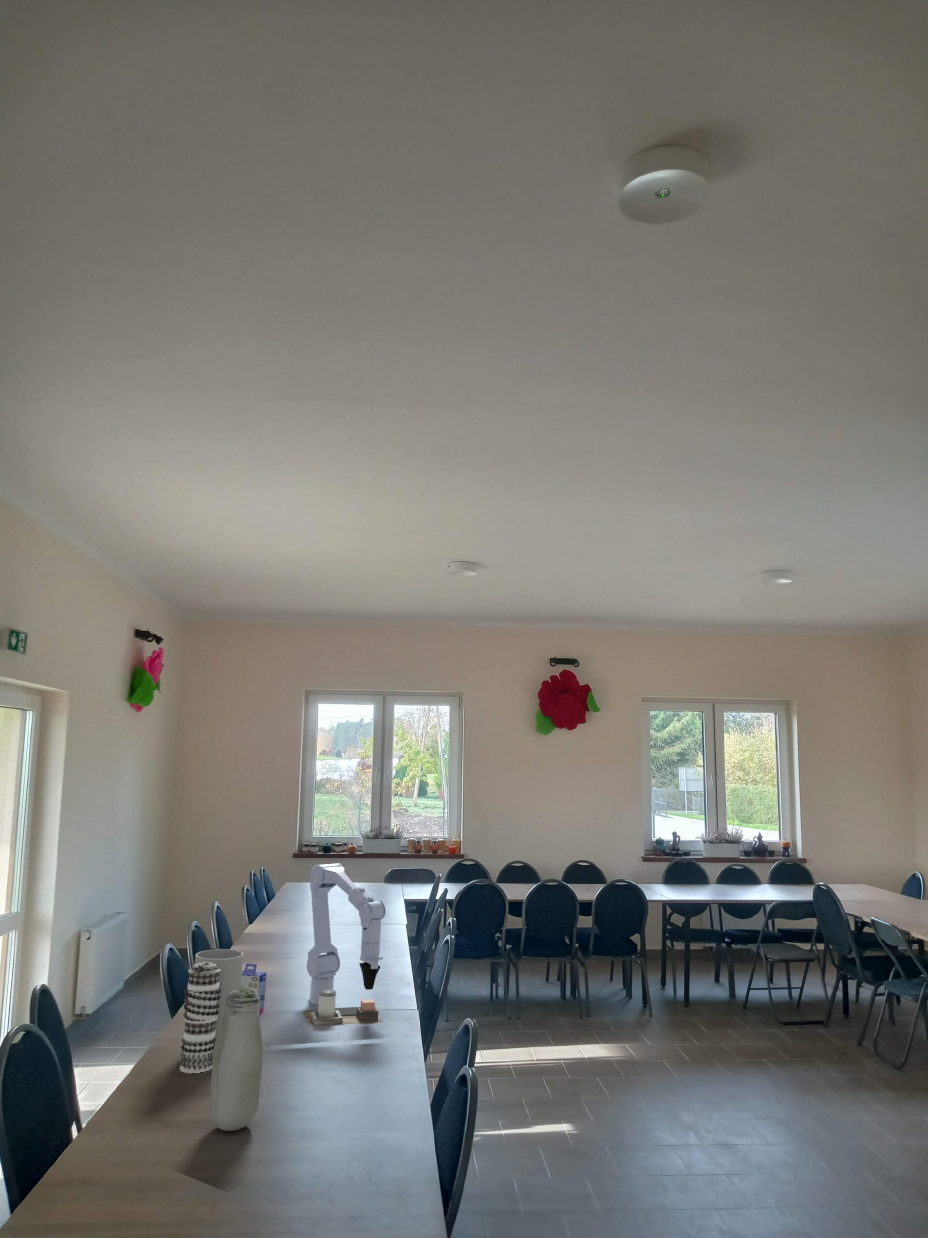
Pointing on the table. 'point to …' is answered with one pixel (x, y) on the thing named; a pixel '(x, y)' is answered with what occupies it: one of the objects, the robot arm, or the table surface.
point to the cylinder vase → (224, 974)
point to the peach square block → (367, 1005)
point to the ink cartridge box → (255, 982)
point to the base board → (343, 1018)
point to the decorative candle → (200, 1018)
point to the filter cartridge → (326, 1004)
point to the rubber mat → (347, 1011)
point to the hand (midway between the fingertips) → (368, 988)
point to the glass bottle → (237, 1062)
